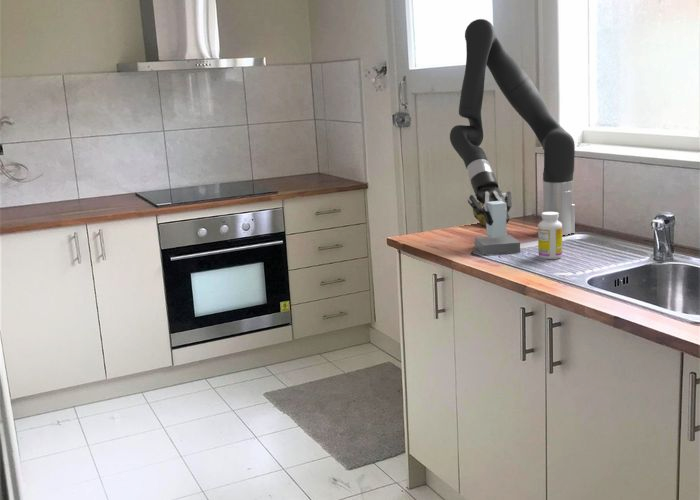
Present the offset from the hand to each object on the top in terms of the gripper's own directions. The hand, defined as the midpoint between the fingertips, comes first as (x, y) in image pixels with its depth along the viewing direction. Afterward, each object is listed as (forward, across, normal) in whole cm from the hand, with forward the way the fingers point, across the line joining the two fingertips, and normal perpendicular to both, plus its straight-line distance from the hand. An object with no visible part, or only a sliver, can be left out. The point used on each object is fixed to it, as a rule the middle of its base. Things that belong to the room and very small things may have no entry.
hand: (499, 222), depth 232 cm
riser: (+5, 0, +7) cm, 9 cm away
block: (+2, 0, +4) cm, 4 cm away
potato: (-19, +12, +31) cm, 38 cm away
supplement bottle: (+15, +10, -3) cm, 18 cm away
